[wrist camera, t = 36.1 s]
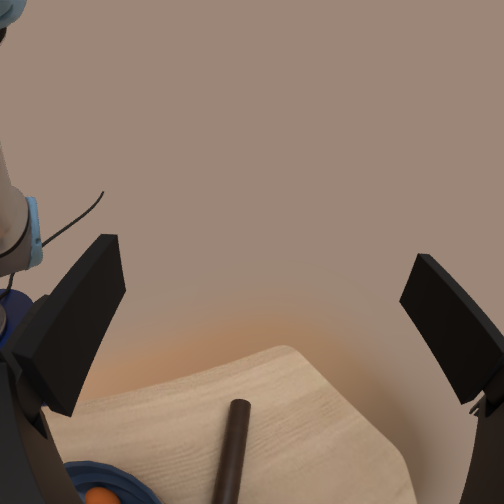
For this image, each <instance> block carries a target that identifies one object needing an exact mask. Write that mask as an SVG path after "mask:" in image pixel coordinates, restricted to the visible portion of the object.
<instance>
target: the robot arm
mask: <svg viewBox="0 0 504 504" xmlns="http://www.w3.org/2000/svg"><path fill="white" fill-rule="evenodd" d="M26 1H27V0H0V45H1V44H2V43H3V41H4V39H5V37H6V29H7V26H9V25H10V24H11V23H13V22H15V21H16V20H17V19H18V18H19V17H20V16H21V14H22V12H23V10H24V7H25V5H26ZM103 193H104V192H102V193H101V195H100V197H99V198H98V200H97V201H96V202H95V203H94V204H93V205H92V206H91V207H90V209H88V210H87V211H86V212H85V213H83V214H82V215H81V216H80V217H78V218H77V219H75V220H74V221H73V222H71V223H70V224H69V225H67V226H66V227H64V228H63V229H61V230H60V231H59V232H57V233H56V234H54V235H53V236H52V237H50V238H49V239H48V240H46V241H45V242H44V243H42V244H41V239H40V228H39V219H38V211H37V202H36V199H35V198H34V197H24V196H23V194H22V193H21V192H20V191H19V190H18V189H17V188H15V187H13V186H11V182H10V179H9V176H8V172H7V169H6V164H5V160H4V157H3V152H2V148H1V144H0V277H3V276H6V275H9V274H11V275H10V279H9V284H8V287H7V289H6V290H5V291H4V292H3V293H2V294H1V295H0V300H1V299H2V298H3V297H5V296H6V295H7V294H8V293H9V291H10V289H11V286H12V281H13V276H14V274H15V272H18V271H22V270H28V269H30V268H31V267H34V266H37V265H39V264H40V263H41V261H42V259H43V252H42V247H44V246H45V245H46V244H47V243H49V242H50V241H51V240H53V239H54V238H55V237H57V236H58V235H60V234H61V233H62V232H64V231H65V230H66V229H68V228H69V227H70V226H72V225H73V224H75V223H76V222H77V221H79V220H80V219H81V218H83V217H84V216H85V215H86V214H87V213H89V212H90V211H91V210H92V209H93V208H94V207H95V206H96V204H97V203H98V202H99V201H100V199H101V198H102V196H103ZM125 292H126V288H125V283H124V277H123V271H122V265H121V258H120V251H119V244H118V236H117V235H113V234H101V235H100V236H99V237H98V238H97V239H96V240H95V241H94V242H93V244H92V245H91V246H90V247H89V248H88V249H87V250H86V251H85V253H84V254H83V255H82V256H81V257H80V258H79V259H78V261H77V262H76V263H75V264H74V265H73V266H72V268H71V269H70V270H69V271H68V273H67V274H66V275H65V276H64V277H63V279H62V280H61V281H60V282H59V284H58V285H57V286H56V288H55V289H54V290H53V291H52V293H51V294H50V295H44V296H42V297H41V298H39V299H38V300H37V301H35V302H34V303H33V305H32V306H31V307H30V309H29V310H28V311H27V314H26V315H24V317H23V318H22V319H21V323H19V324H18V325H17V326H16V328H15V329H14V331H13V332H12V334H11V335H10V337H9V338H8V340H7V341H6V343H5V344H4V346H3V347H2V349H1V350H0V504H84V503H83V502H82V500H81V498H80V496H79V494H78V493H77V491H76V489H75V487H74V485H73V483H72V481H71V479H70V477H69V475H68V473H67V471H66V469H65V466H64V464H63V462H62V460H61V458H60V455H59V453H58V450H57V448H56V446H55V443H54V440H53V438H52V435H51V432H50V430H49V427H48V424H47V421H46V418H45V415H44V413H43V411H42V409H41V406H42V404H43V401H44V402H45V403H46V404H47V406H48V407H49V408H50V409H51V411H54V412H57V413H59V414H62V415H65V416H68V417H71V416H72V413H73V410H74V408H75V405H76V402H77V399H78V397H79V394H80V391H81V389H82V386H83V384H84V381H85V379H86V376H87V374H88V371H89V369H90V367H91V364H92V362H93V360H94V357H95V355H96V352H97V350H98V348H99V346H100V344H101V341H102V339H103V337H104V335H105V333H106V330H107V328H108V326H109V324H110V322H111V320H112V317H113V316H114V314H115V312H116V310H117V308H118V305H119V304H120V302H121V300H122V298H123V296H124V294H125ZM399 302H400V303H401V305H402V306H403V308H404V309H405V311H406V312H407V314H408V315H409V317H410V318H411V320H412V321H413V323H414V324H415V326H416V327H417V329H418V330H419V332H420V334H421V335H422V337H423V338H424V340H425V342H426V343H427V345H428V346H429V348H430V349H431V351H432V353H433V355H434V356H435V358H436V360H437V361H438V363H439V365H440V366H441V368H442V370H443V372H444V373H445V375H446V377H447V379H448V381H449V382H450V384H451V386H452V388H453V390H454V392H455V393H456V395H457V397H458V399H459V401H460V403H461V405H462V404H465V403H467V402H470V401H472V400H474V399H475V398H476V396H477V395H478V394H479V393H480V392H481V391H482V390H483V391H484V393H485V395H484V396H483V397H482V398H481V399H480V400H479V401H478V402H477V403H476V404H475V405H474V406H473V408H472V409H471V410H470V412H469V414H472V413H473V411H475V410H476V409H477V408H479V409H478V410H477V411H476V413H475V414H474V416H477V417H478V424H477V431H476V437H475V444H474V449H473V454H472V459H471V463H470V467H469V472H468V476H467V479H466V483H465V487H464V490H463V493H462V497H461V500H460V503H459V504H504V336H503V335H502V334H501V332H500V331H499V330H498V329H497V328H496V326H495V325H494V324H493V322H492V321H491V320H490V319H489V318H488V316H487V315H486V314H485V313H484V312H483V311H482V309H481V308H480V307H479V306H478V305H477V304H476V303H475V301H474V300H473V299H472V298H471V297H470V296H469V295H468V294H467V292H466V291H465V290H464V289H463V288H462V287H461V286H460V285H459V284H458V283H457V282H456V281H455V280H454V279H453V278H452V277H451V275H450V274H449V273H447V271H446V270H445V269H444V268H443V267H442V266H440V264H439V263H438V262H437V261H436V260H435V259H433V257H431V256H430V255H429V254H419V253H418V254H417V258H416V260H415V263H414V265H413V268H412V271H411V273H410V276H409V279H408V281H407V284H406V286H405V289H404V291H403V293H402V296H401V298H400V301H399ZM7 327H8V318H7V315H6V313H5V310H4V308H3V307H2V305H1V304H0V342H1V340H2V339H3V337H4V335H5V333H6V331H7Z"/></svg>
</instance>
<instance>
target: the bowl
mask: <svg viewBox="0 0 504 504" xmlns="http://www.w3.org/2000/svg"><path fill="white" fill-rule="evenodd" d="M64 466H65V469H66V471H67V473H68V475H69V477H70V479H71V481H72V483H73V485H74V487H75V489H76V491H77V493H78V494H79V496H80V498H81V500H82V502H83V503H84V504H86V503H85V495H86V493H87V491H88V490H90V489H91V488H94V487H103V488H106V489H109V490H111V491H112V492H114V493H115V494H116V495H117V496H118V498H119V499H120V501H121V504H165V503H164V502H163V500H162V499H161V498H160V497H159V496H157V495H156V494H155V493H154V492H153V491H152V490H151V489H150V488H148V487H147V486H146V485H144V484H143V483H142V482H140V481H139V480H138V479H137V478H135V477H134V476H133V475H131V474H129V473H127V472H124V471H122V470H120V469H118V468H116V467H114V466H112V465H107V464H102V463H97V462H93V461H76V462H67V463H65V464H64Z"/></svg>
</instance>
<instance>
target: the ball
mask: <svg viewBox="0 0 504 504" xmlns="http://www.w3.org/2000/svg"><path fill="white" fill-rule="evenodd" d="M85 503H86V504H121V501H120V499H119V498H118V496H117V495H116V494H115V493H114V492H112V491H111V490H109V489H106V488H103V487H94V488H91V489H90V490H88V491H87V493H86V495H85Z"/></svg>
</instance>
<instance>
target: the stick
mask: <svg viewBox="0 0 504 504" xmlns="http://www.w3.org/2000/svg"><path fill="white" fill-rule="evenodd" d="M250 409H251V404H250V402H248V401H246V400H243V399H235V400H233V401H232V402H231V405H230V411H229V416H228V421H227V427H226V432H225V438H224V443H223V448H222V454H221V459H220V464H219V469H218V475H217V480H216V485H215V491H214V496H213V501H212V504H237V503H238V496H239V489H240V482H241V475H242V468H243V461H244V454H245V447H246V439H247V432H248V424H249V417H250Z"/></svg>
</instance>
